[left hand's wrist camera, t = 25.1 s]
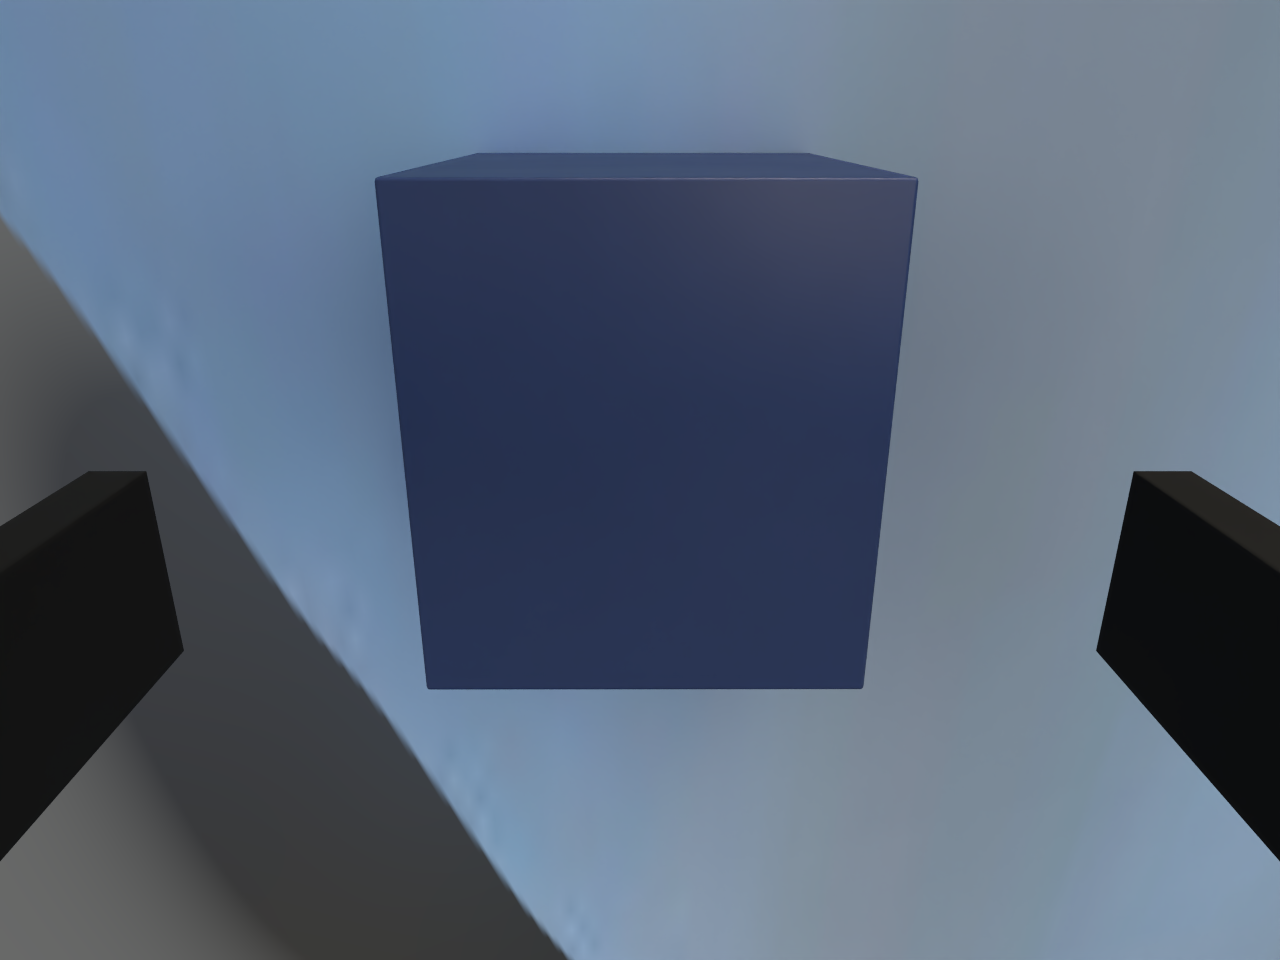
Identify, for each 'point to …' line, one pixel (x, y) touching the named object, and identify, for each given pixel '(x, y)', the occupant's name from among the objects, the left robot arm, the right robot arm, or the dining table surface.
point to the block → (645, 413)
